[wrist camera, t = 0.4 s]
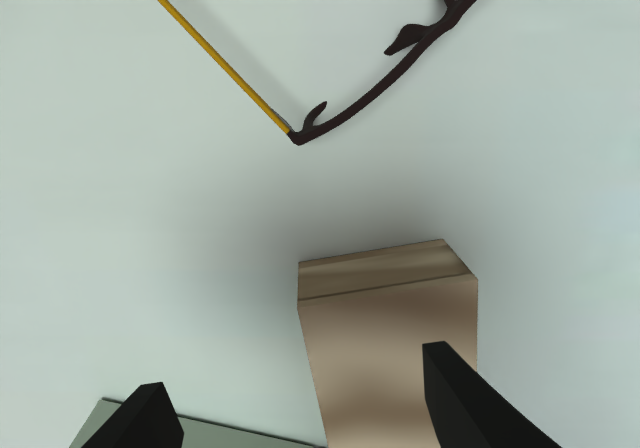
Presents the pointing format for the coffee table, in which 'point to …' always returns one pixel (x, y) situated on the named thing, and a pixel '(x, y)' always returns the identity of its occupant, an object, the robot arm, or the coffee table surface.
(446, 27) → the eyeglasses
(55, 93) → the coffee table surface
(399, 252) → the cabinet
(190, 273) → the coffee table surface
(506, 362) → the coffee table surface
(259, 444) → the sage green panel
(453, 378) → the robot arm
